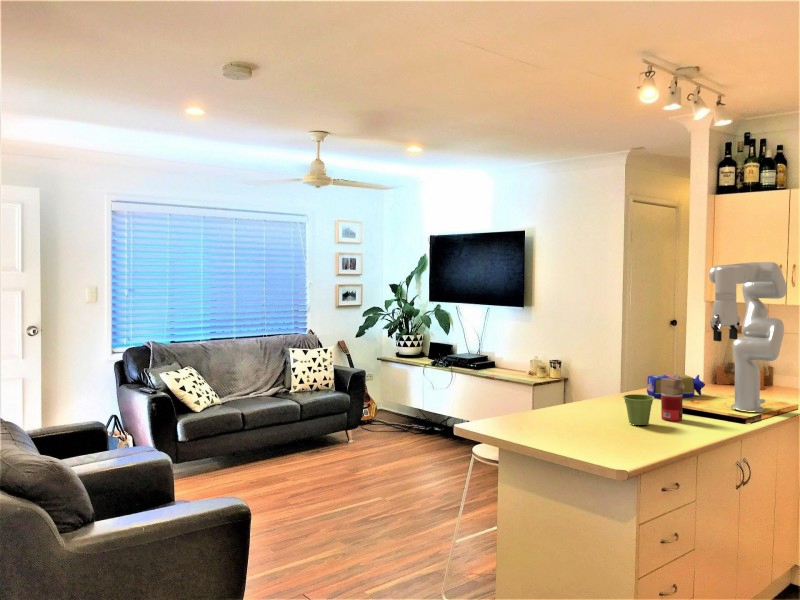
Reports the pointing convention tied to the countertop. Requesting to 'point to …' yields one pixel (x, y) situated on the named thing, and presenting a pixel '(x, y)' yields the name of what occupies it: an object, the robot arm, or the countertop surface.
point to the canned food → (671, 407)
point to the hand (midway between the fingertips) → (725, 340)
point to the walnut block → (672, 386)
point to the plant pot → (638, 408)
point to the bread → (688, 381)
